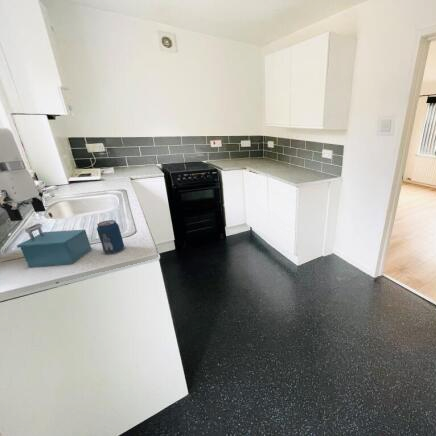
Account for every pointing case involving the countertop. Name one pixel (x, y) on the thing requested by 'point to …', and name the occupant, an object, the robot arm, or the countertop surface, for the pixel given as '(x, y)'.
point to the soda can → (110, 236)
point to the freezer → (57, 252)
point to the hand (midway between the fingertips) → (29, 215)
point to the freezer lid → (49, 237)
